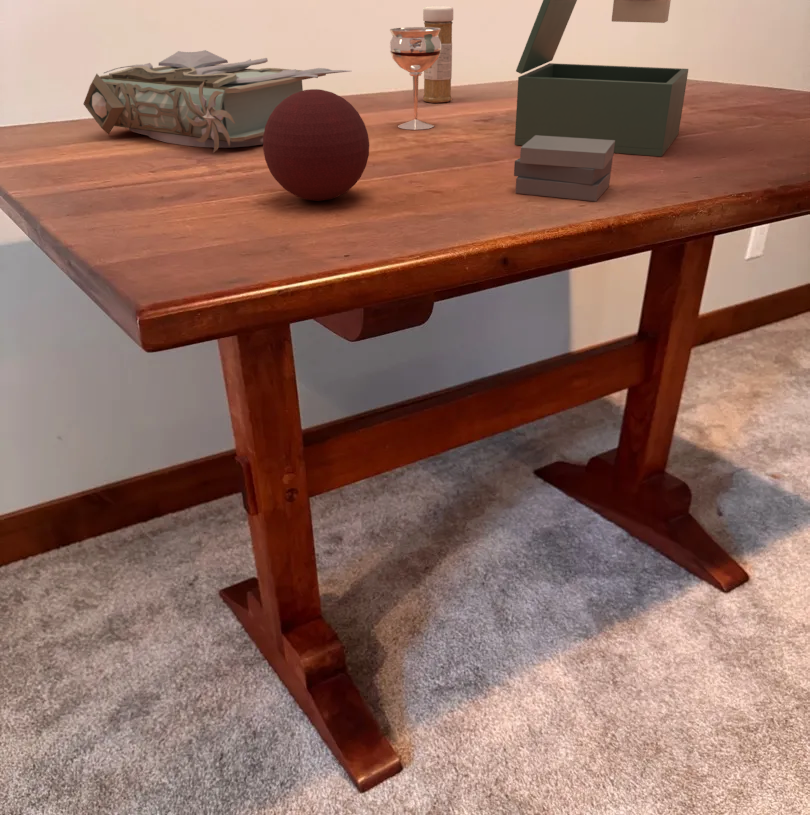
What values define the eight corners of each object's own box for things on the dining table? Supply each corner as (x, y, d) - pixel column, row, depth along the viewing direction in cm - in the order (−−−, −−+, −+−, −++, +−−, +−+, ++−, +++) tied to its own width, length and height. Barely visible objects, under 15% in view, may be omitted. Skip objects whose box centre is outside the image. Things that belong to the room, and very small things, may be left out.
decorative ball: (335, 180, 84) (330, 78, 79) (391, 200, 77) (389, 90, 72) (250, 197, 79) (238, 89, 74) (301, 220, 72) (291, 102, 67)
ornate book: (81, 143, 106) (247, 160, 92) (63, 65, 102) (234, 70, 87) (203, 116, 123) (361, 126, 108) (193, 47, 118) (356, 49, 103)
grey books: (613, 185, 81) (619, 139, 79) (599, 202, 75) (604, 154, 73) (530, 177, 84) (532, 133, 82) (510, 193, 79) (512, 146, 76)
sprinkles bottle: (418, 100, 128) (418, 6, 121) (444, 98, 129) (445, 5, 123) (430, 104, 124) (431, 7, 117) (457, 102, 126) (458, 6, 119)
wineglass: (420, 119, 113) (420, 26, 107) (450, 126, 108) (452, 29, 102) (381, 125, 110) (378, 29, 104) (410, 133, 105) (409, 32, 99)
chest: (678, 134, 102) (688, 68, 98) (661, 156, 91) (672, 84, 88) (544, 125, 109) (549, 63, 105) (514, 145, 98) (518, 76, 94)
